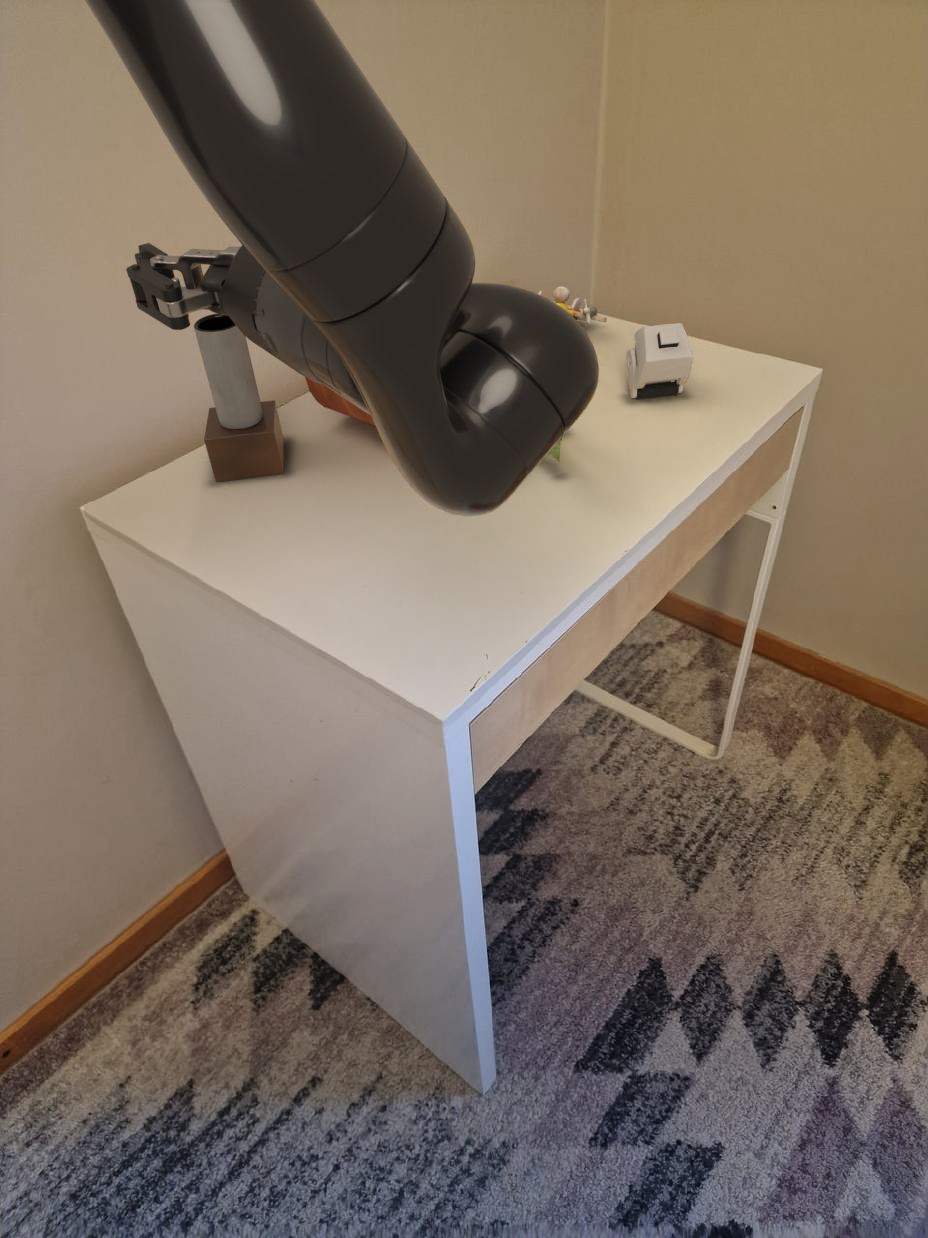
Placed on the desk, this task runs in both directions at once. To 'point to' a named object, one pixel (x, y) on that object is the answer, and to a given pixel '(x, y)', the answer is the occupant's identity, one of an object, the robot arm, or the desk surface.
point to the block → (245, 446)
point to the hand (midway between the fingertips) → (204, 244)
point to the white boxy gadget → (659, 361)
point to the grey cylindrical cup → (229, 371)
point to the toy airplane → (576, 306)
